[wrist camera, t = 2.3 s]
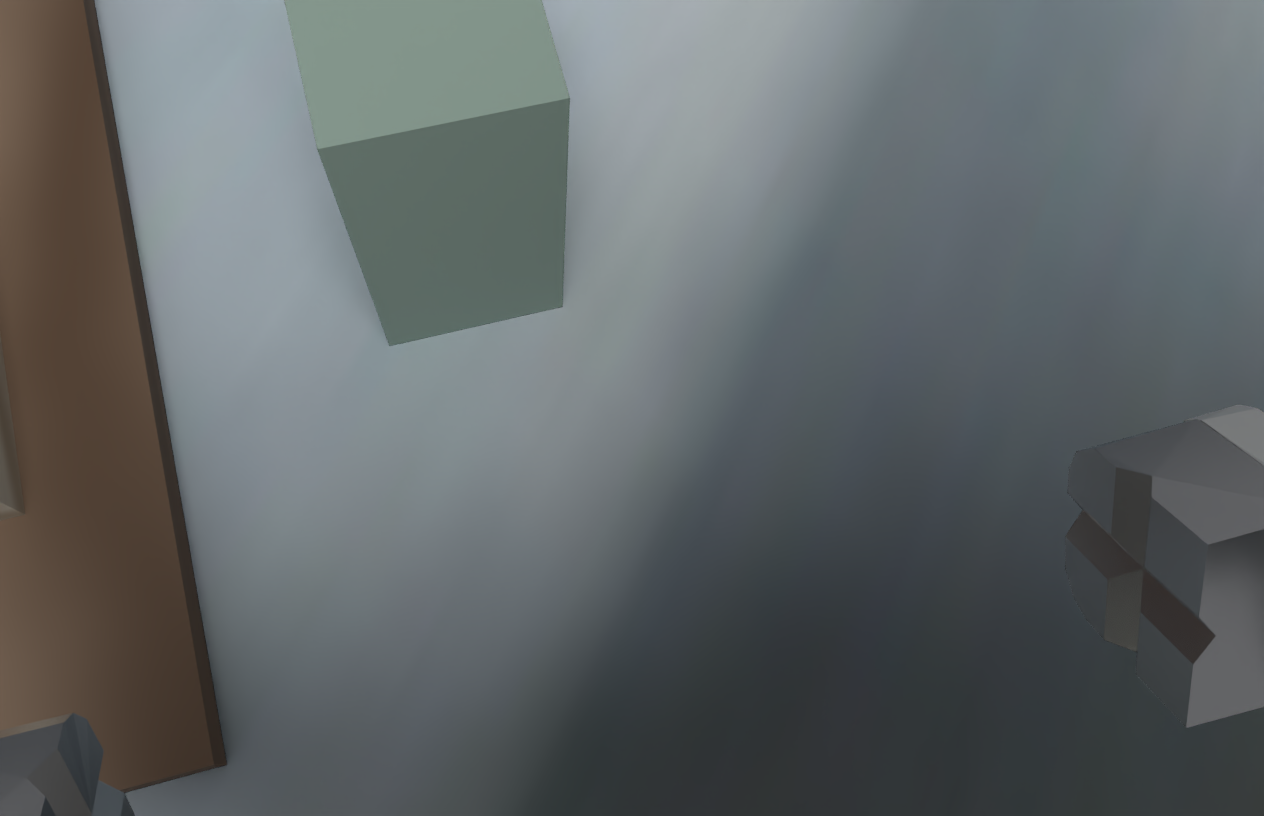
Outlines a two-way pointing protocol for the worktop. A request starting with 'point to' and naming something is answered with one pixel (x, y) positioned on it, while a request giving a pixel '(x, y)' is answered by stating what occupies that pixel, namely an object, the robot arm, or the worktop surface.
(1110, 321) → the worktop surface
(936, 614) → the worktop surface
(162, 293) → the worktop surface
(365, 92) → the green block
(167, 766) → the walnut board
